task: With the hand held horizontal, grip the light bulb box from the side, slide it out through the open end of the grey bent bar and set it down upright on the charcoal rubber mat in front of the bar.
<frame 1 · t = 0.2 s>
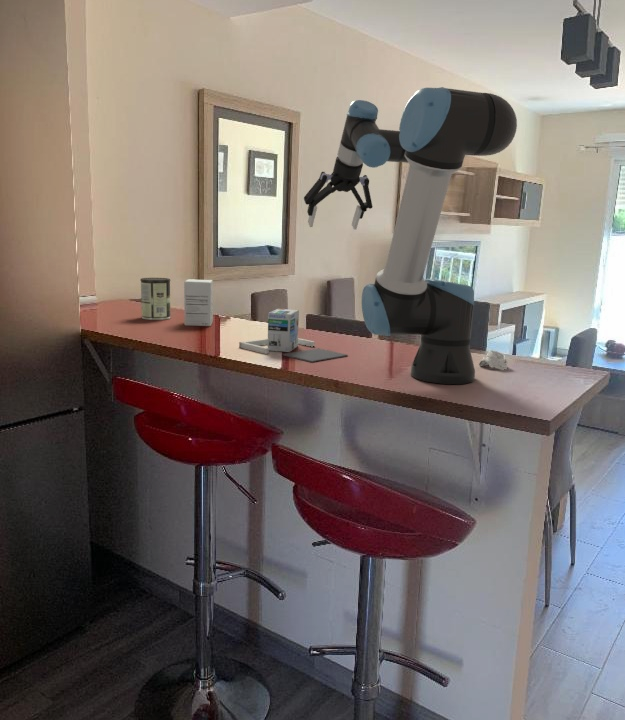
hand: (332, 225, 188), 35 cm above the table, fingers open, 13 cm apart
grey bent bar: (282, 348, 183), on the table
coffee can: (155, 318, 230), on the table
rubber mat: (315, 355, 174), on the table
whitish grey rock: (494, 368, 169), on the table
supplement box: (198, 324, 221), on the table
light bulb box: (282, 349, 183), on the table
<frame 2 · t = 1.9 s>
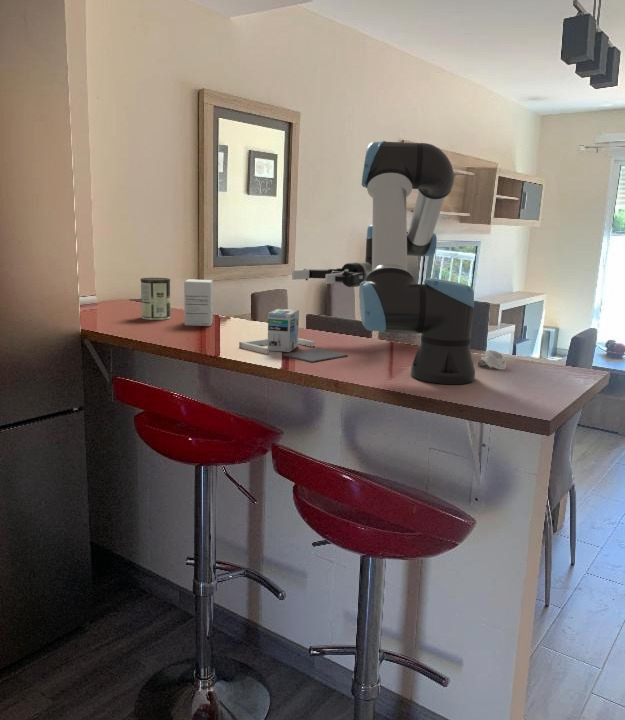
hand: (309, 276, 186), 20 cm above the table, fingers open, 13 cm apart
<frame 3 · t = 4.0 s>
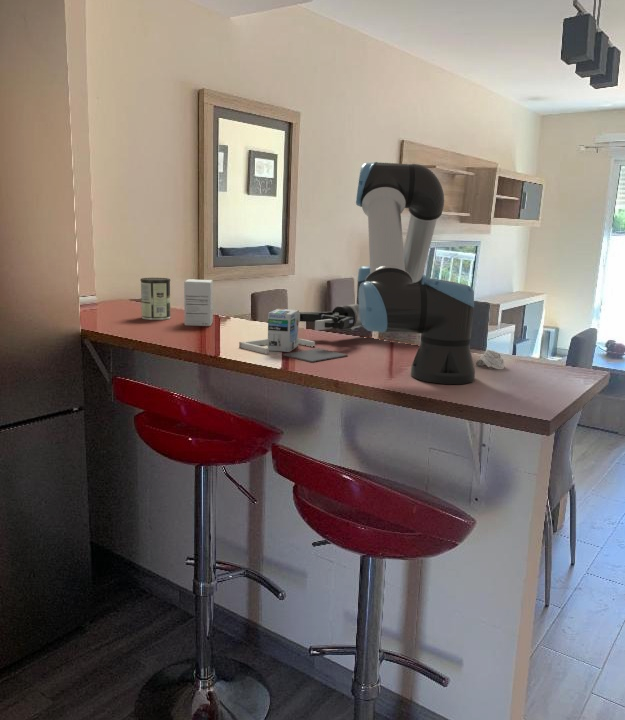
hand: (299, 322, 187), 7 cm above the table, fingers open, 13 cm apart
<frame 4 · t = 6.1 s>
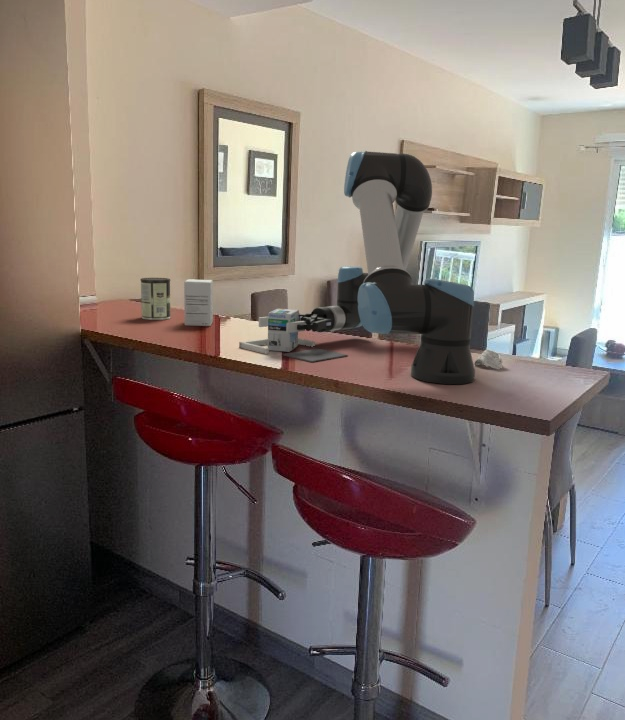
hand: (273, 325, 179), 7 cm above the table, fingers closed on light bulb box, 11 cm apart
light bulb box: (282, 349, 183), on the table, touching gripper
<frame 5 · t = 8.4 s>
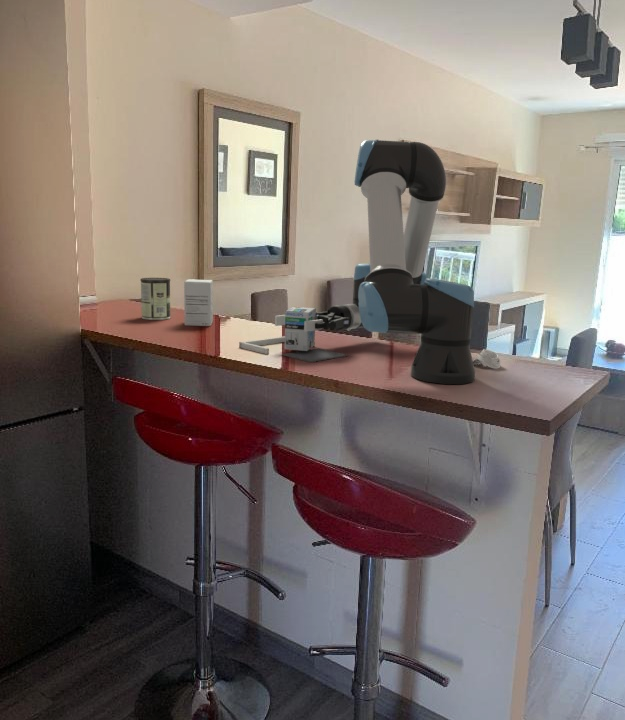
hand: (290, 323, 175), 8 cm above the table, fingers closed on light bulb box, 11 cm apart
light bulb box: (299, 348, 179), point 1 cm above the table, touching gripper
when the fingers open (8 cm above the table, at t = 10.6 s): light bulb box stays where it is, resting on rubber mat.
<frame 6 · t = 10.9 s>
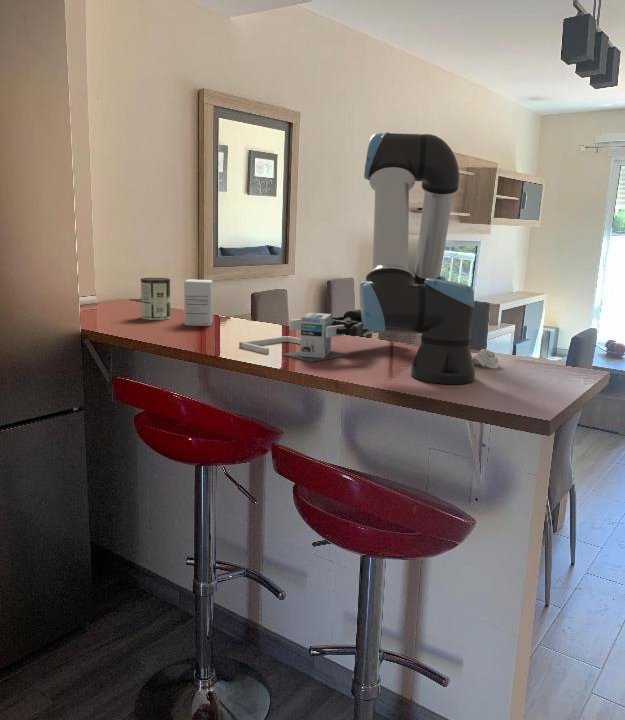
hand: (307, 328, 170), 8 cm above the table, fingers open, 13 cm apart
light bulb box: (315, 355, 174), resting on rubber mat
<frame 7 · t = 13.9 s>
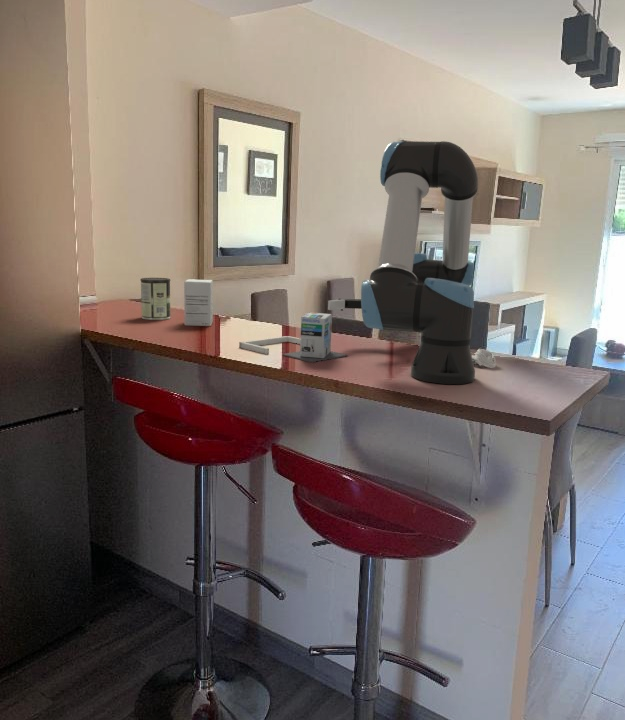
hand: (346, 307, 180), 12 cm above the table, fingers open, 13 cm apart
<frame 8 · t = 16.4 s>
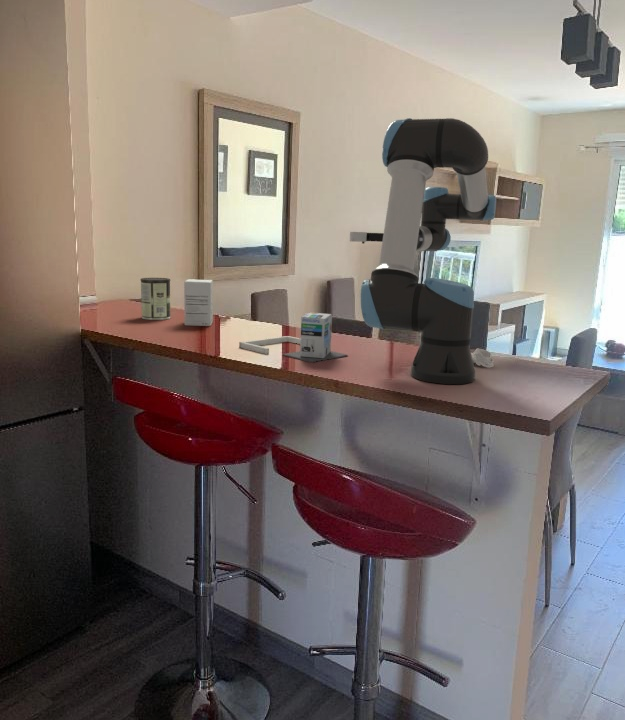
hand: (369, 237, 179), 32 cm above the table, fingers open, 13 cm apart
at the end: light bulb box inside the target area (0.1 cm from its centre), resting on rubber mat; light bulb box tilted 0°; the gripper is holding nothing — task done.
